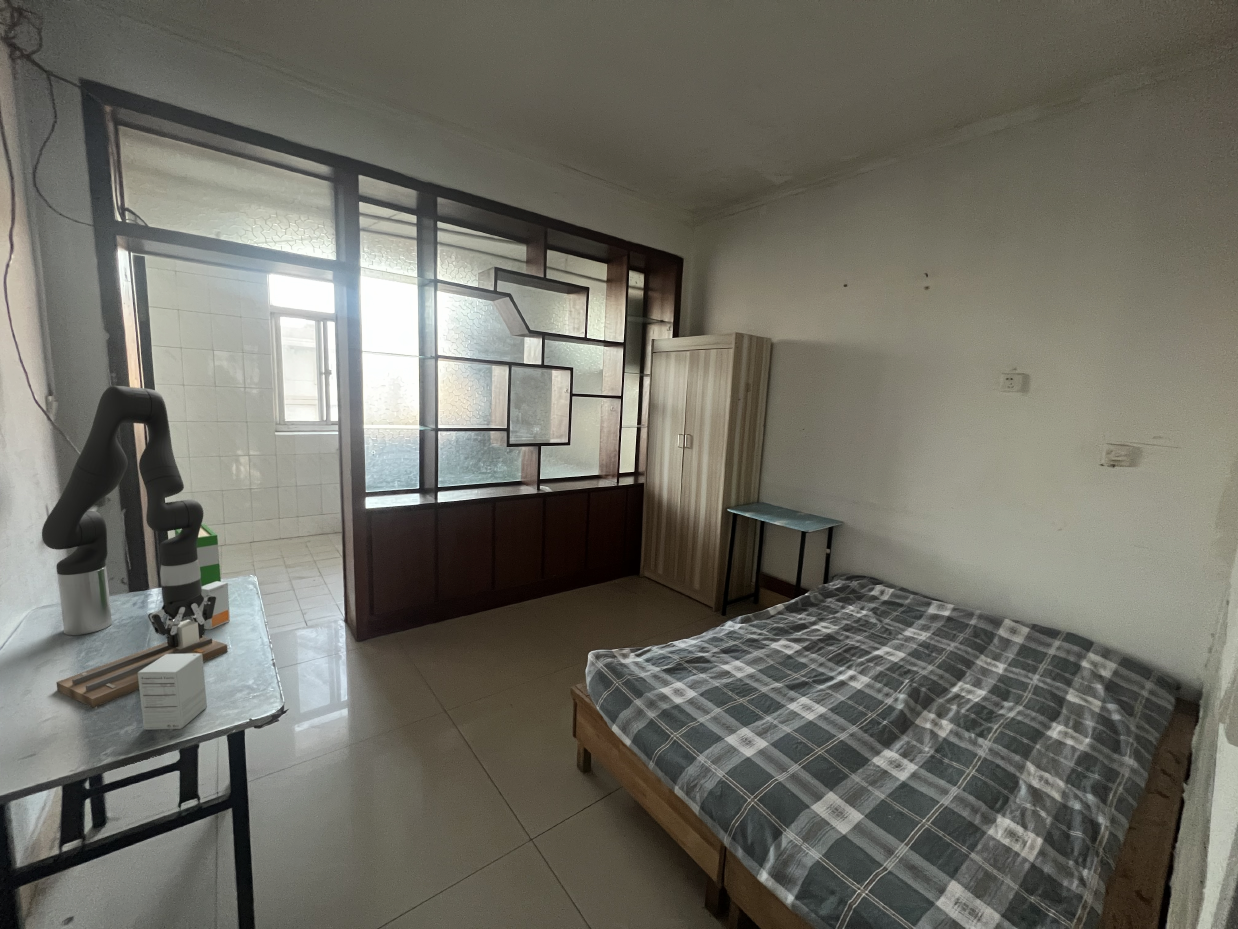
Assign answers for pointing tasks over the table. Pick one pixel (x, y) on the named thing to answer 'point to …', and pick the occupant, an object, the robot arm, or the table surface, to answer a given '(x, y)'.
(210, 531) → the hardback book
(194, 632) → the fader tab
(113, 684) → the fader console
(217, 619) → the skincare box
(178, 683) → the supplement box
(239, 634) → the table surface
